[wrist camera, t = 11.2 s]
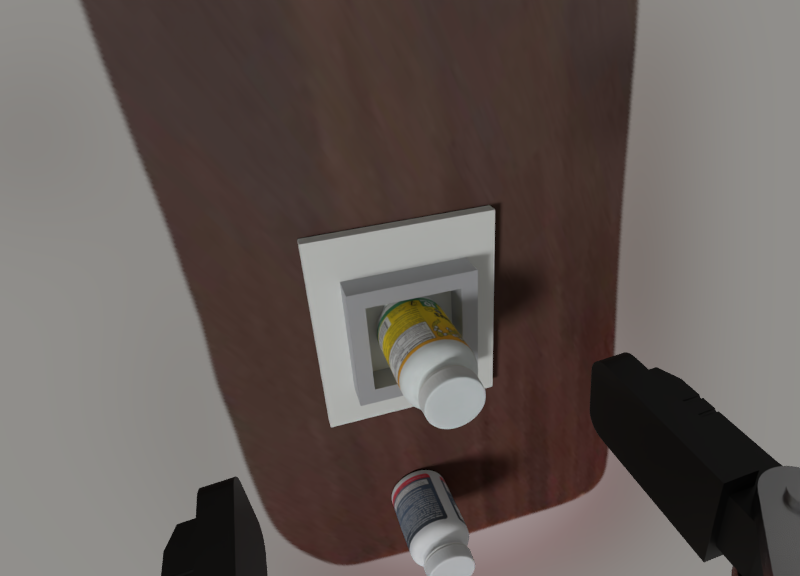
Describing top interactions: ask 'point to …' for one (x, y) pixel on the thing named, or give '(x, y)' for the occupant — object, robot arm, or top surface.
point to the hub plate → (395, 299)
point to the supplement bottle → (431, 362)
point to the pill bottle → (432, 525)
